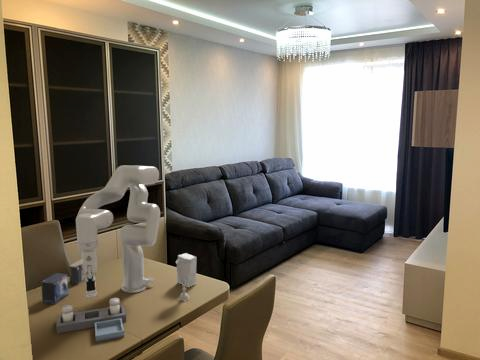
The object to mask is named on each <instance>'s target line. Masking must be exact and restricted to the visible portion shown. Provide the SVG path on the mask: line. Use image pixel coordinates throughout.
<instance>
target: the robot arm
mask: <svg viewBox="0 0 480 360" xmlns="http://www.w3.org/2000/svg"><path fill="white" fill-rule="evenodd" d="M159 179H160V171H159V169H158V168H157V167H156V166H151V165H126V164H125V165H124V164H123V165H120V166H118V167H117V168H116V169H115V171H114V173H112V176H111V177H110V179H109V180H108V182H107V183H106V185H105V187H103V188H102V189H100V190H98V191H96V192H95V193H93V194H92V195H90V196H88V197H87V198H86V200H85V201H84V202H83V203H82V205H81V207H80V208H79V211H78V213H77V216H76V218H75V228H76V229H75V230H76V239H77V240H76V241H77V250H78V252H81V259H82V263H83V270H84V275H86V278H87V281H86V283H85V289H86V288H87V291H93V290H95V280H94V276H95V275H97V274H98V259H97V251H96V250H97V249H98V248H99V240H98V239H99V238H98V237H99V236H98V231H99V230H101V229H106V228H108V227H110V226H111V225H112V224H113V222H114V214H113V212H112V211H110V210H109V209H108V210H107V209H101V207H103V206H105V205H108V204H112V203H115V202H117V201H120V200H121V199H122V198H123V197H124V196H125V193H126V192H127V190H128V188H129V193H130V194H129V200H128V206H127V212H126V217H127V220H128V221H129V222H133V223H141V224H145V225H141V224H126V225H124V226H122V227H121V228H120V231H119V239H120V242H121V249H122V265H123V266H122V267H123V283H122V284H121V286H120V289H121V291H122V292H124V293H128V294H135V293H140V292H143V291H145V290H146V289H148V286H149V285H148V284H150V283H154V282H155V278H153V277H152V278H151V277H149V276H148V277H145V262H144V261H145V260H144V250H143V248H142V247H152V246H154V245H155V244H156V241H157V238H158V233H159V226H160V219H161V210H160V207H159V205H157V204H156V203H149V202H148V197H149V192H148V189H147V187H146V185H147V186H148V185H155V184H156V183H157V182H158V181H159ZM92 279H93V280H92Z"/></svg>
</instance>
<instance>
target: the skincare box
mask: <svg viewBox="0 0 480 360" xmlns="http://www.w3.org/2000/svg"><path fill="white" fill-rule="evenodd" d="M179 259H189V260H191V261H192V262H191V264H190V269H191V272H190V275H189V277H188V279H187V281H185V284H186V285H185V286H187V287H189V286H191V285H193V284H195V283H196V284H197V263H198V262H197V256H195V255H192V254H189V253H187V252H185V253H182V254H178V255H177V260H179ZM176 277H177V278H176V283H180V284H182V285H183V281H181V280H180V278H179V276H178V274H177V273H176ZM180 284H179V285H180ZM182 285H181V286H182ZM191 287H192V286H191ZM189 288H190V287H189Z"/></svg>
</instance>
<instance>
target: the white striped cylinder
mask: <svg viewBox="0 0 480 360" xmlns="http://www.w3.org/2000/svg"><path fill="white" fill-rule="evenodd" d="M96 278H97V277H96V276H95V275H94V280H95V290H93V291H87V288H86V287H85V297H86V299H89V300H91V299H94V298H96V297H97V284H96V280H97V279H96ZM92 280H93V279H92ZM86 281H87V278H85V280H84V283H85V284H86Z"/></svg>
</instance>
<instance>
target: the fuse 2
mask: <svg viewBox="0 0 480 360" xmlns="http://www.w3.org/2000/svg"><path fill="white" fill-rule="evenodd" d="M120 301H121V300H120V298H118V297H113V298H110V299H109V302H108V303H109V304H108V305H109V307H110V315H114V314H120V307H119V305H120V303H121V302H120Z"/></svg>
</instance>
